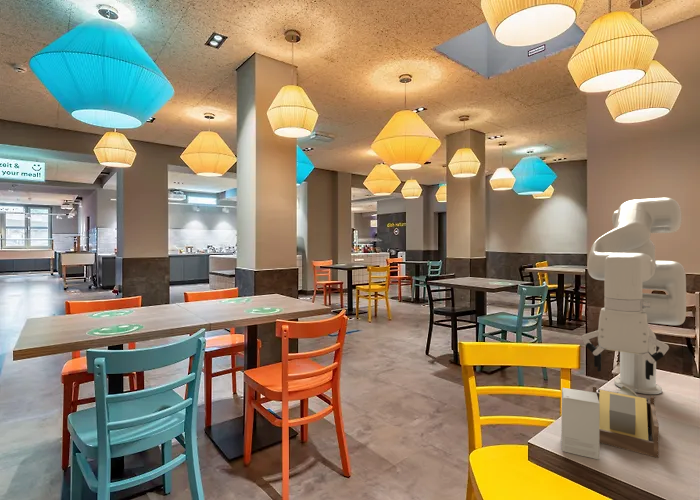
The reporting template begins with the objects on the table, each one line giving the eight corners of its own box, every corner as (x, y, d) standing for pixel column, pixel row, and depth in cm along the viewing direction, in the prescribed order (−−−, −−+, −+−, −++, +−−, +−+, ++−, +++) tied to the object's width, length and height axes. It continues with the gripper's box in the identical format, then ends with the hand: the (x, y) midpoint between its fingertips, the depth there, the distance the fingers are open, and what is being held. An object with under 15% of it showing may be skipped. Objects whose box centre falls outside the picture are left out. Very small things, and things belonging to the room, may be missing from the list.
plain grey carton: (610, 412, 96) (609, 393, 93) (634, 417, 93) (635, 398, 90) (609, 429, 92) (609, 409, 90) (635, 435, 89) (635, 415, 87)
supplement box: (600, 460, 82) (600, 403, 82) (561, 451, 86) (561, 397, 86) (597, 445, 89) (597, 392, 89) (561, 437, 92) (561, 386, 92)
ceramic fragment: (648, 412, 107) (648, 399, 107) (628, 410, 108) (628, 397, 108) (624, 394, 120) (624, 382, 120) (606, 393, 121) (606, 381, 121)
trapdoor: (598, 390, 103) (598, 388, 103) (648, 400, 97) (648, 397, 96) (595, 435, 93) (595, 432, 93) (650, 449, 87) (650, 446, 86)
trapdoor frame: (593, 414, 104) (593, 384, 104) (653, 428, 97) (653, 395, 97) (588, 439, 91) (588, 405, 91) (658, 457, 83) (658, 420, 83)
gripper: (667, 305, 89) (667, 376, 90) (582, 299, 100) (582, 363, 100) (670, 311, 83) (670, 386, 84) (580, 304, 94) (580, 371, 94)
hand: (622, 373), depth 92 cm, fingers open, 9 cm apart
